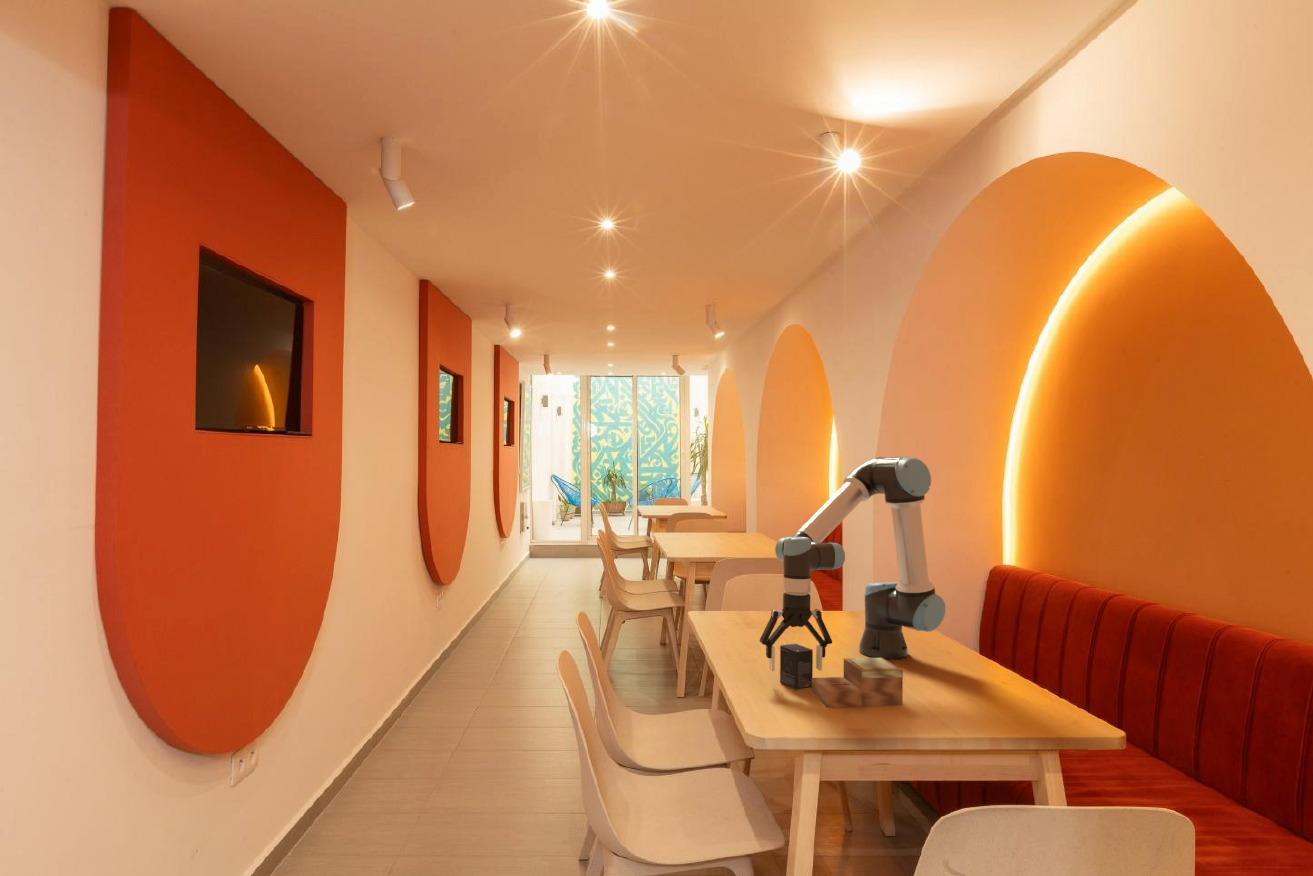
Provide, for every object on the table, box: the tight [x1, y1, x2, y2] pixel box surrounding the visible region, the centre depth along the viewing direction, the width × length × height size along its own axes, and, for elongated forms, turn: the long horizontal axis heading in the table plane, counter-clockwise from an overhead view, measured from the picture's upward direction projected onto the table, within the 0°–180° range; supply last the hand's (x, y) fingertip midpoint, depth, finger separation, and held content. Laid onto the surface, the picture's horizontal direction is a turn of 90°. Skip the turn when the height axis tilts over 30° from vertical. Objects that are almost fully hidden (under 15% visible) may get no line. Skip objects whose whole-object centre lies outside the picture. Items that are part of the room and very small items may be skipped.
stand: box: [811, 657, 904, 709], centre depth 193 cm, size 20×12×9 cm, turn 98°
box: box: [779, 643, 814, 691], centre depth 204 cm, size 8×6×11 cm
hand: (795, 669), depth 204 cm, fingers open, 13 cm apart
